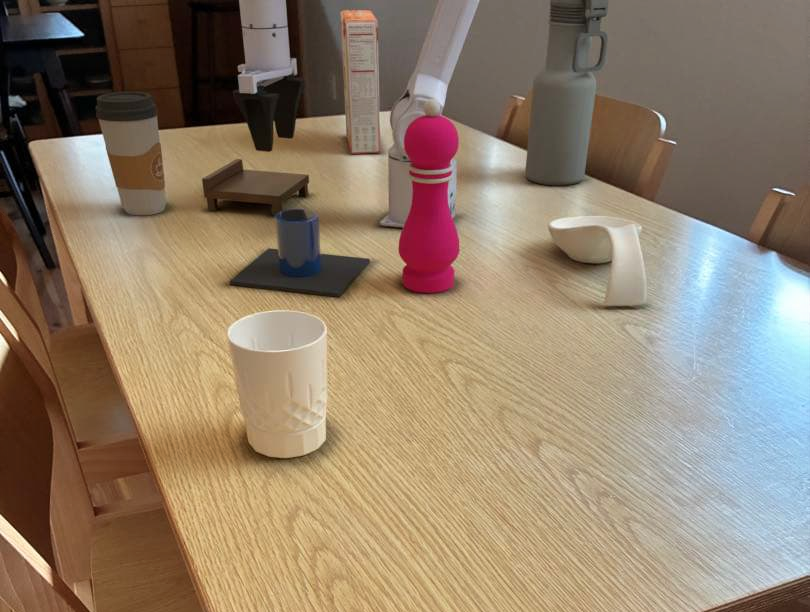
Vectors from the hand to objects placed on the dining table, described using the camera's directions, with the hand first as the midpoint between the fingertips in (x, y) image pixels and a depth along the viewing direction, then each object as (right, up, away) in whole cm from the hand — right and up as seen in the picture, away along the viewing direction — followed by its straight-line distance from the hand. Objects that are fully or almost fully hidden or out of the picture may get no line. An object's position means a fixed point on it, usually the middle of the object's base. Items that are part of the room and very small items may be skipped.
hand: (275, 144), depth 110 cm
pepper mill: (+21, -23, -12) cm, 33 cm away
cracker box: (+10, +21, +43) cm, 48 cm away
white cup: (+8, -45, -40) cm, 61 cm away
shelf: (-5, -2, +14) cm, 15 cm away
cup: (+5, -20, -9) cm, 23 cm away
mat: (+5, -21, -9) cm, 23 cm away
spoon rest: (+42, -20, -8) cm, 48 cm away
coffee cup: (-21, -5, +11) cm, 24 cm away
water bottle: (+43, +6, +25) cm, 50 cm away
